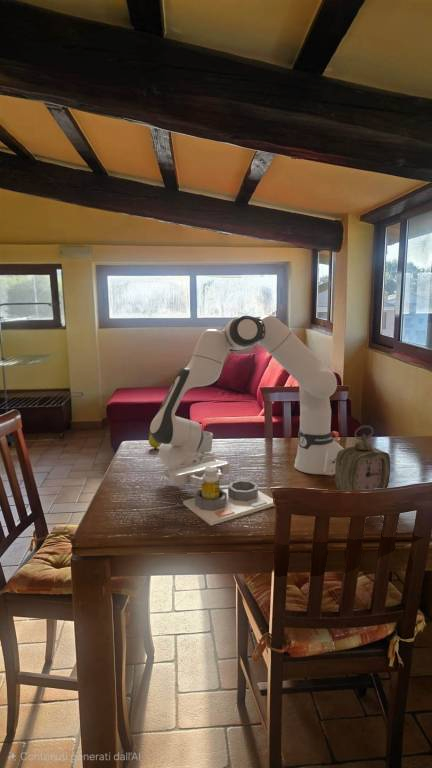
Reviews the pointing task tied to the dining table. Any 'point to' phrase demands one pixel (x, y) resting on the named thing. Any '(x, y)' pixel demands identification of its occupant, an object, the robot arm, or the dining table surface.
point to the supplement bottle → (210, 484)
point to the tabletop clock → (362, 466)
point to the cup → (206, 442)
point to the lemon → (153, 442)
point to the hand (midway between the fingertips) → (212, 479)
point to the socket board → (230, 502)
